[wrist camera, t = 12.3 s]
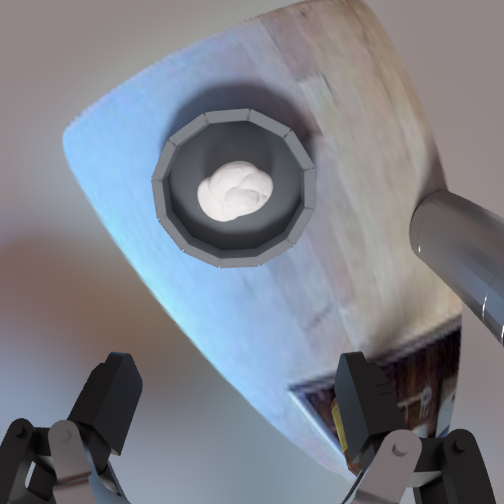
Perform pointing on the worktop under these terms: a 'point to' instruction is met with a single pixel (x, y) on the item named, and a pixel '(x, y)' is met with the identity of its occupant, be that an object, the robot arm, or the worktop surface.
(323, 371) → the worktop surface
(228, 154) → the round dish
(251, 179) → the dumpling
